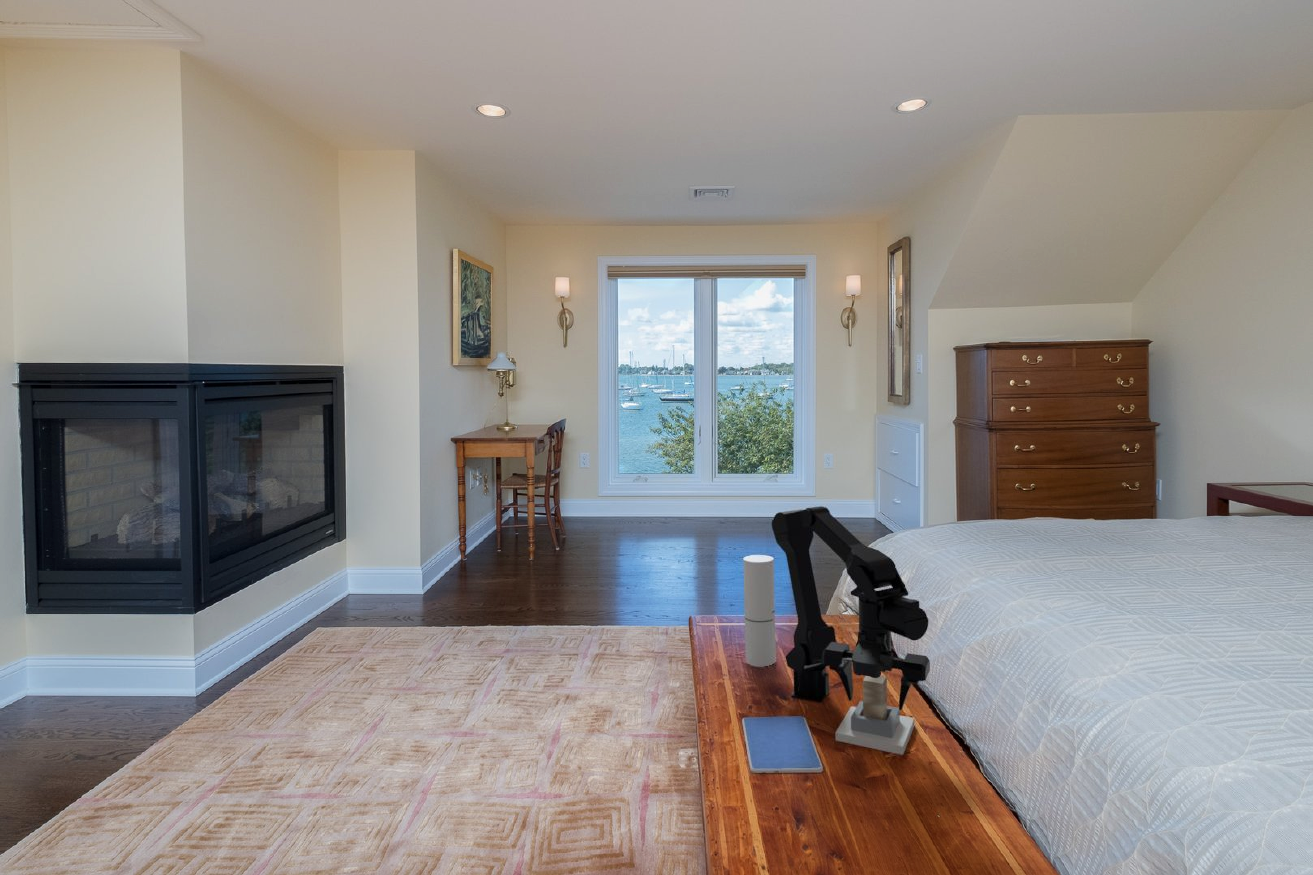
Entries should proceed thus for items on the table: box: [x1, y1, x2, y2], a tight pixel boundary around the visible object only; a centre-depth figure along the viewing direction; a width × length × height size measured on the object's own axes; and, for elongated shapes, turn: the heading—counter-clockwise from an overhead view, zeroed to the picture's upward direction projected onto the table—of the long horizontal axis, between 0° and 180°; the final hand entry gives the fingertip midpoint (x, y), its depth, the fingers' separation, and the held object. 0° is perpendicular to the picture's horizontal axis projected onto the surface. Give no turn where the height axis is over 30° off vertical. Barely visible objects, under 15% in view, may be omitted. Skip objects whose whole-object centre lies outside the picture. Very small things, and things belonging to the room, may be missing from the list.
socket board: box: [835, 700, 916, 756], centre depth 135 cm, size 12×12×4 cm
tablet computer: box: [741, 716, 824, 774], centre depth 132 cm, size 19×13×1 cm, turn 178°
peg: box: [862, 675, 888, 721], centre depth 134 cm, size 4×4×9 cm
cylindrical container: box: [742, 554, 777, 668], centre depth 170 cm, size 7×7×25 cm
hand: (875, 704), depth 134 cm, fingers open, 9 cm apart
